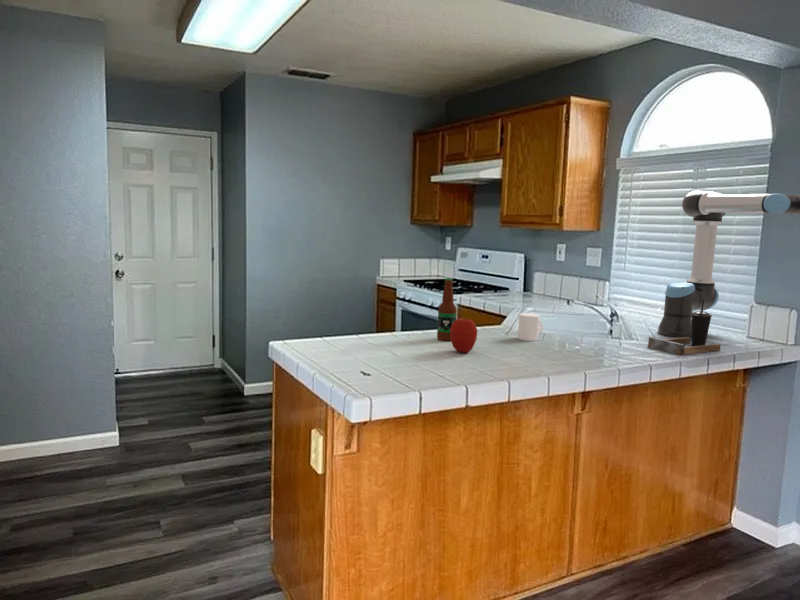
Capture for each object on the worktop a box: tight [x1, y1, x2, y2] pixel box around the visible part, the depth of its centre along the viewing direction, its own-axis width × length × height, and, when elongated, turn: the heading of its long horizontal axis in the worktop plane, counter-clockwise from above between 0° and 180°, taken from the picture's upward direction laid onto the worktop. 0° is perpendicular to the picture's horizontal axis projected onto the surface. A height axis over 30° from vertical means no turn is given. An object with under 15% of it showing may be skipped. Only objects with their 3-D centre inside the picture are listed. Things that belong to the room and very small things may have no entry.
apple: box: [450, 315, 478, 354], centre depth 220 cm, size 10×10×14 cm
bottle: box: [436, 277, 457, 342], centre depth 241 cm, size 7×7×25 cm
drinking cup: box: [691, 299, 713, 346], centre depth 244 cm, size 8×8×20 cm
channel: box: [647, 336, 721, 356], centre depth 241 cm, size 15×24×4 cm, turn 118°
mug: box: [517, 312, 544, 342], centre depth 250 cm, size 8×10×12 cm
